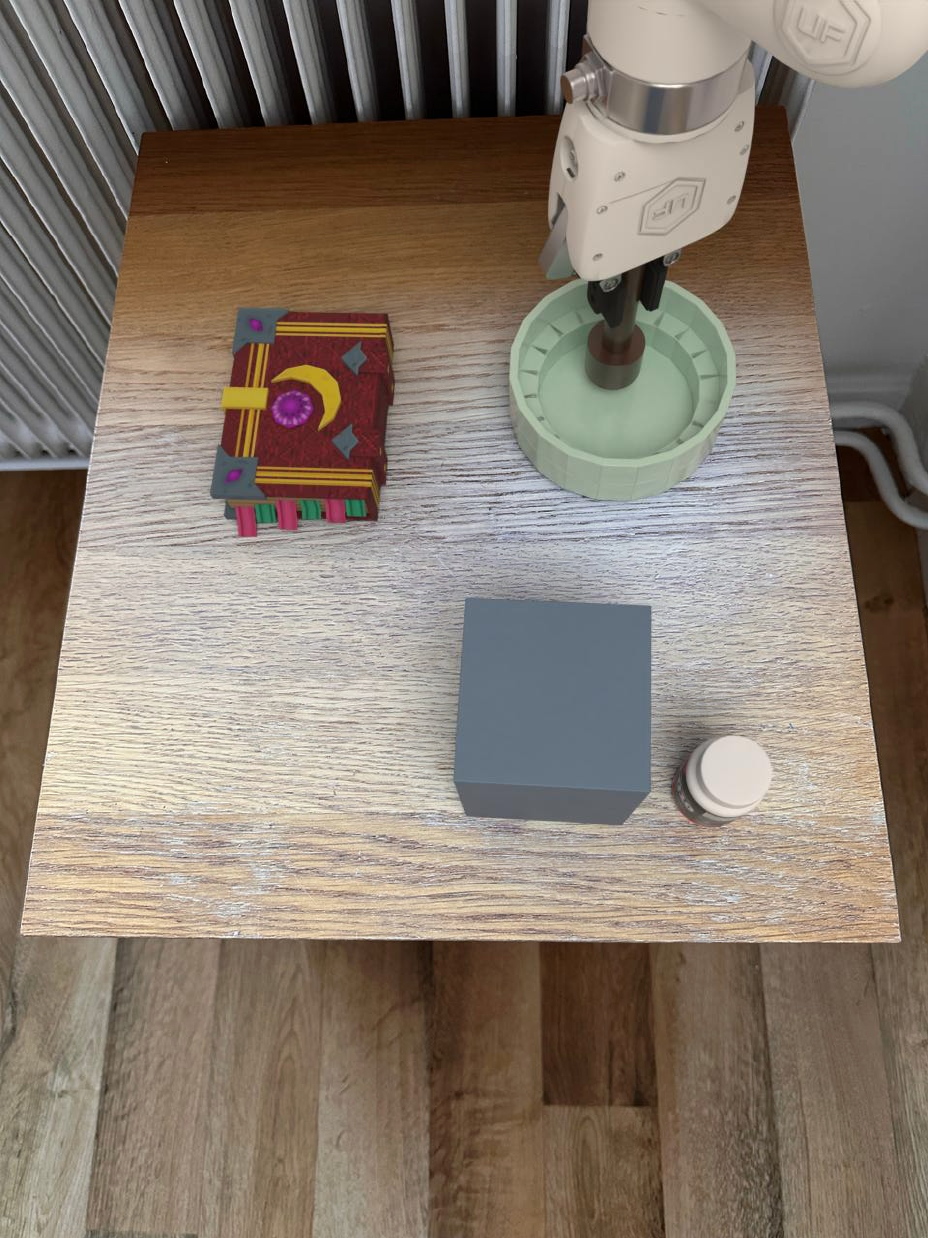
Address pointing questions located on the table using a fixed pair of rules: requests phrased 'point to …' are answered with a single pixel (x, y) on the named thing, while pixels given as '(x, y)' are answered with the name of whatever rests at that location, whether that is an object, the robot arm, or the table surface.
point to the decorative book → (305, 418)
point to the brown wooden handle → (618, 342)
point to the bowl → (620, 396)
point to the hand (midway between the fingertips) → (623, 300)
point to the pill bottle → (722, 781)
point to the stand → (554, 710)
